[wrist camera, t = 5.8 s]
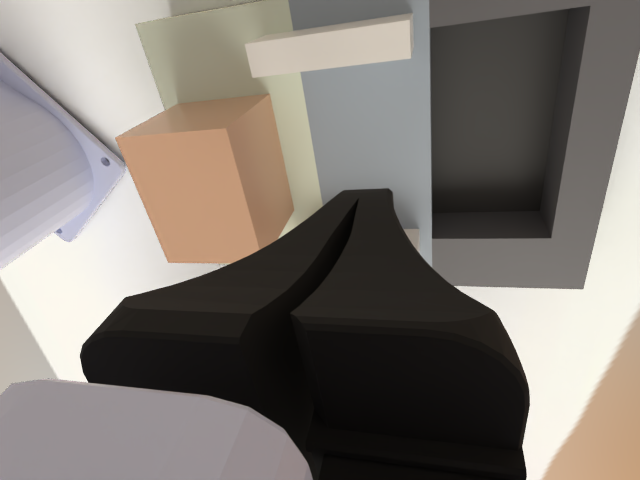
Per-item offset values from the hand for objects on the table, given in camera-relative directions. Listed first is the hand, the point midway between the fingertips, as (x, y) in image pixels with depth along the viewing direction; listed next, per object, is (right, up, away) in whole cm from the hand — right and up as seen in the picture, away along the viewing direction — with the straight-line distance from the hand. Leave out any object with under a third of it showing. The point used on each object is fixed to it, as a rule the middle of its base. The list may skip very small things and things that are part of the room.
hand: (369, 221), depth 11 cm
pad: (-4, +4, +8) cm, 10 cm away
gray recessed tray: (+4, +4, +6) cm, 8 cm away
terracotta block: (-5, +3, +6) cm, 8 cm away
